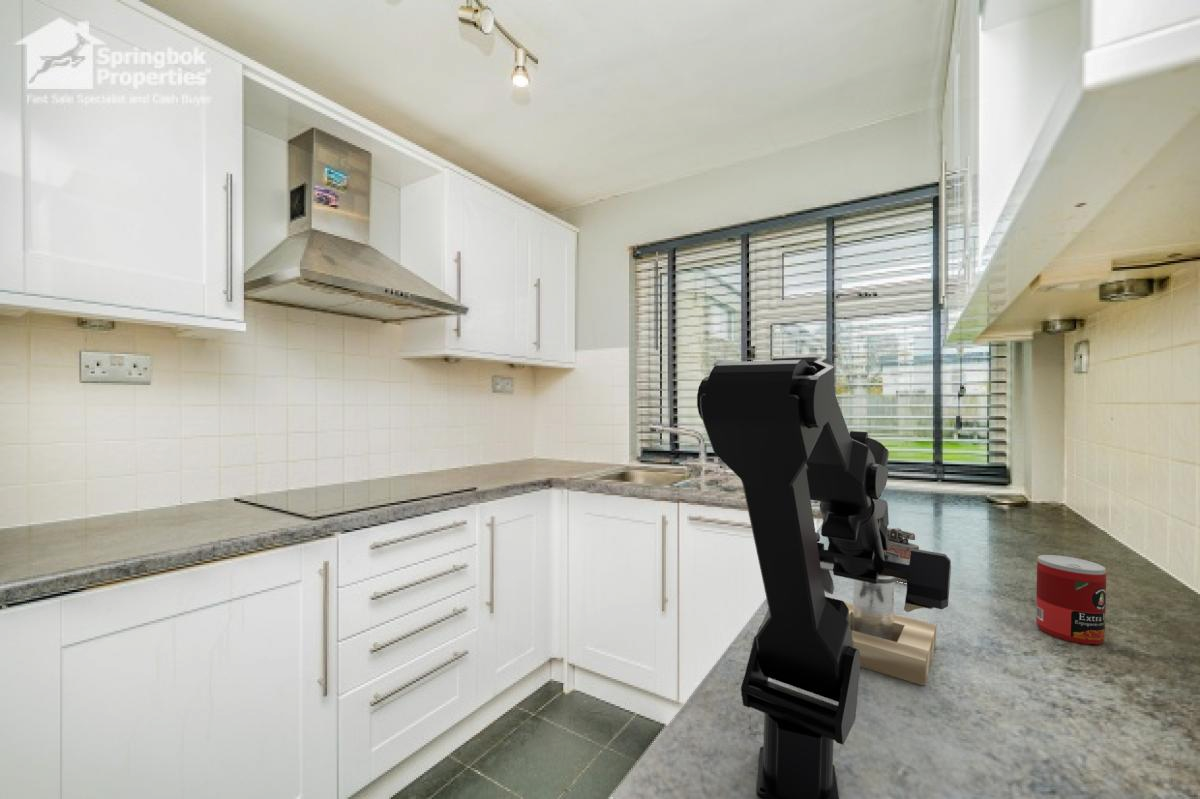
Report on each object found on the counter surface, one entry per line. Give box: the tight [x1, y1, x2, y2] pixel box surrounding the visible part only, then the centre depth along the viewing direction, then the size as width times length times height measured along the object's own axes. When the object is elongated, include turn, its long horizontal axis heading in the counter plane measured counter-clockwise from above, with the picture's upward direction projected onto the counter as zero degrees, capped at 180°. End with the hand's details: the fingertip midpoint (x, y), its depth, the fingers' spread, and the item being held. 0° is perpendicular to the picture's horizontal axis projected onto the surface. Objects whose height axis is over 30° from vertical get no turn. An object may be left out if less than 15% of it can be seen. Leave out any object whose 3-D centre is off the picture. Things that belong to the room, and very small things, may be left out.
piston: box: [852, 574, 896, 641], centre depth 72 cm, size 5×5×12 cm
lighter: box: [883, 527, 920, 583], centre depth 103 cm, size 8×3×10 cm, turn 25°
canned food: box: [1035, 554, 1107, 646], centre depth 79 cm, size 8×8×11 cm
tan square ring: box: [844, 602, 938, 687], centre depth 72 cm, size 14×14×3 cm
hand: (868, 599), depth 70 cm, fingers open, 9 cm apart
